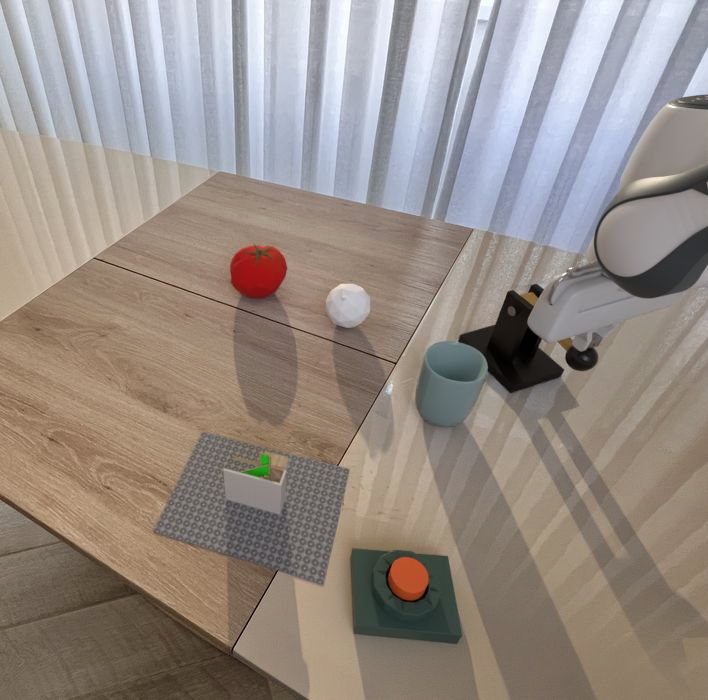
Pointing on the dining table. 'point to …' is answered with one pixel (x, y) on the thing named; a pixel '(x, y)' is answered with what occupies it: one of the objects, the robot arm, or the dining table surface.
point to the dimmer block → (398, 614)
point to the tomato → (258, 271)
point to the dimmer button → (408, 578)
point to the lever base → (514, 346)
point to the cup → (449, 383)
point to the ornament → (347, 305)
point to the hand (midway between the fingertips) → (585, 345)
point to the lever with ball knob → (571, 347)
